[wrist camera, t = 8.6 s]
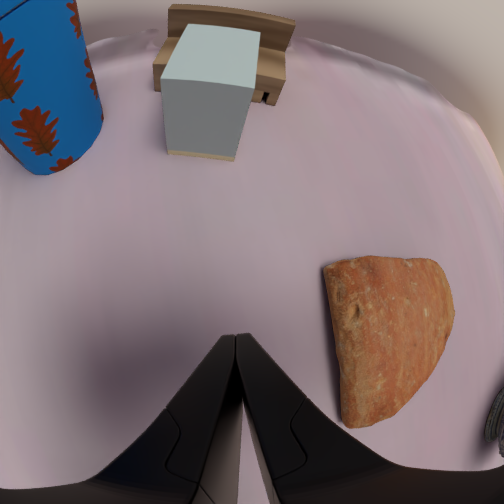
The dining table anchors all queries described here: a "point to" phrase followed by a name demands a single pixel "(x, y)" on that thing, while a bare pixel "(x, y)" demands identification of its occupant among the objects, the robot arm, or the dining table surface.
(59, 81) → the thermos
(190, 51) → the cover
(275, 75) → the wooden toy bench
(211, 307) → the dining table surface
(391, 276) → the brown rounded piece
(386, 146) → the dining table surface
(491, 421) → the decorative vase
